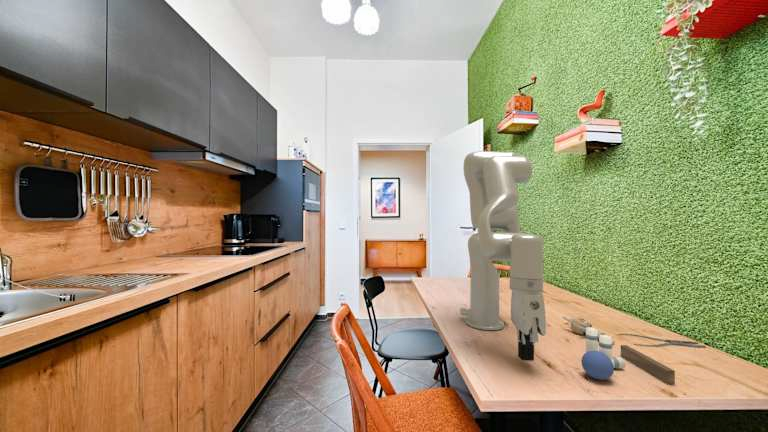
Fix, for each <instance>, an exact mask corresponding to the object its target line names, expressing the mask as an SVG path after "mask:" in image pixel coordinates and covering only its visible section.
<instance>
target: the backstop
mask: <svg viewBox="0 0 768 432" xmlns="http://www.w3.org/2000/svg"><path fill="white" fill-rule="evenodd" d="M621 356H622V357H621ZM620 357H621V358H622V359H624V358H625V360H626V361H628V362H629V361H630V362H629V363H631V364H633V365H634V364H635V365H634V366H635V367H637V368H639V367H640V369H641V368H642V369H641V370H642V371H644V370H645V371H644V372H646V373H648V374H649V373H650V375H651V376H652V377H654V376H655V377H654V378H656V377H657V378H656V379H657V380H659V379H660V380H659V381H661V380H662V381H661V382H663V383H664V382H665V384H666V383H667V384H666V385H668V384H675V385H676V377H675V376H676V375H675V374H676V373H675V371H676V370H674V369H672V368H670V367H668V366H666V365H665V364H663V363H660V362H659V361H657V360H655V359H653V358H652V357H650V356H647V355H645V354H644V353H643V352H640V351H638V350H637V349H634V348H633V347H631V346H629V345H627V344H620Z"/></svg>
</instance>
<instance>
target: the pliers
mask: <svg viewBox="0 0 768 432" xmlns="http://www.w3.org/2000/svg"><path fill="white" fill-rule="evenodd" d="M618 335H619V336H632V337H638V338H644V339H650V340H653V341H659V342H664V343H659V344H642V343H633V345H634V346H640V347H649V348H651V347H652V348H654V347H655V348H659V347H669V346H678V347H679V346H681V347H686V348H687V347H688V348H695V349H696V348H699V349H700V348H701V349H703V348H705V349H706V348H707V346H706V345H700V344H699V342H696V341H687V340H677V339H675V340H674V339H661V338H656V337H650V336H647V335H646V336H645V335H640V334H632V333H618Z"/></svg>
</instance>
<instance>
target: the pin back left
mask: <svg viewBox="0 0 768 432" xmlns="http://www.w3.org/2000/svg"><path fill="white" fill-rule="evenodd" d="M598 331H599V330H598V329H597V328H594V327H586V335H585V353H586V352H588V351H592V350H595V351H599V349H598V348H599V341H598Z"/></svg>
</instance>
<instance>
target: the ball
mask: <svg viewBox="0 0 768 432" xmlns="http://www.w3.org/2000/svg"><path fill="white" fill-rule="evenodd" d="M581 366H582V369H583V370H584V372H585V373H586V374H587V375H589V376H590V377H591V378H593V379H595V380H598V381H599V380H600V381H605V380H608V379H610V378H611V377H612V376H613V375H614V372H615V369H614V366H613V363H612V361H611V359H610V358H609V357H608V356H607V355H605V354H604V353H602V352H600V351H599V350H598V351H595V350H592V351H588V352H586V351H585V353H584V354H582V357H581Z"/></svg>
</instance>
